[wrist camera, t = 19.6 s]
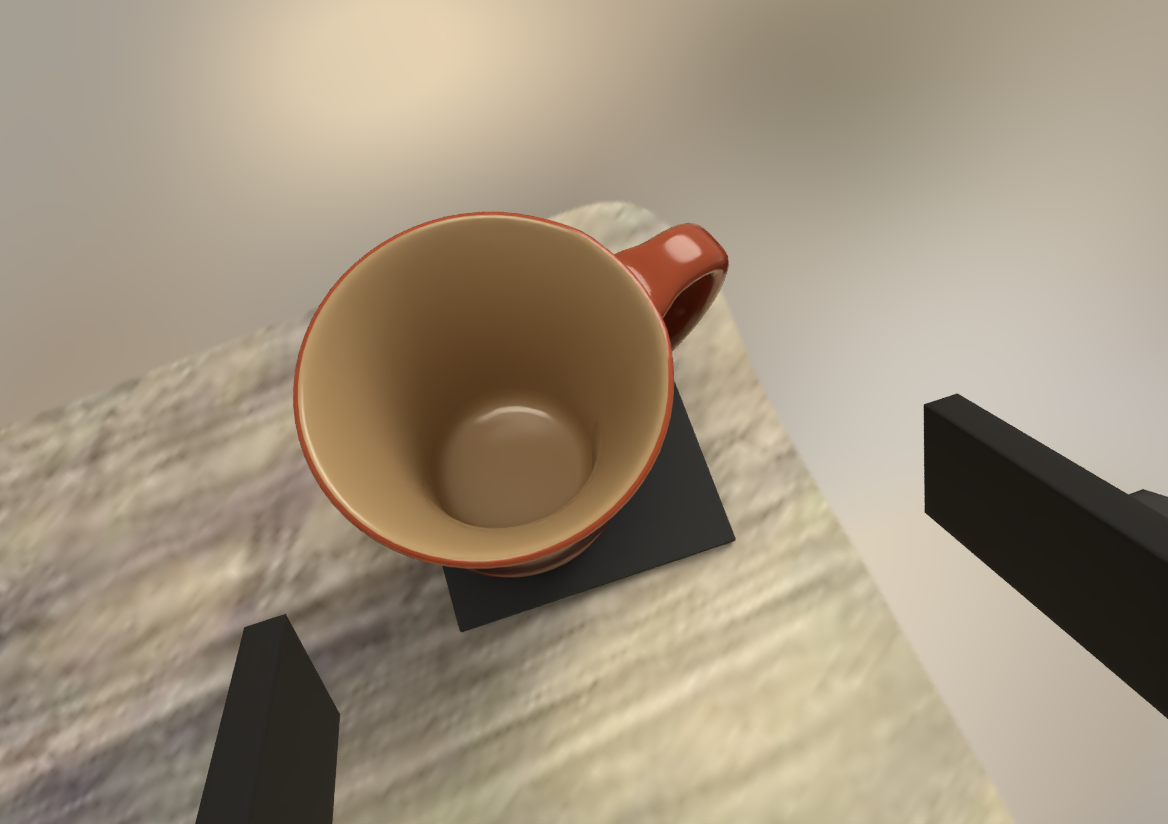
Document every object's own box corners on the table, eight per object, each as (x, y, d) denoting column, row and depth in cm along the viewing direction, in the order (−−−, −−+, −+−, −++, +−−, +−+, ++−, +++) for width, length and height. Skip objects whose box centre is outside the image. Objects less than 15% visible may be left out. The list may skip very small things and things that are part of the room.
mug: (489, 658, 25) (432, 655, 15) (348, 456, 27) (220, 341, 18) (758, 446, 27) (857, 328, 18) (609, 276, 30) (624, 87, 20)
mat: (461, 632, 26) (460, 631, 25) (392, 371, 29) (390, 368, 28) (734, 541, 27) (736, 539, 26) (640, 298, 30) (641, 294, 29)
